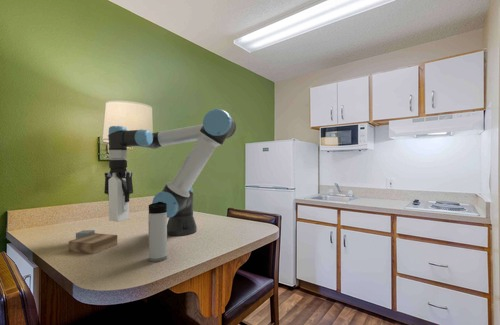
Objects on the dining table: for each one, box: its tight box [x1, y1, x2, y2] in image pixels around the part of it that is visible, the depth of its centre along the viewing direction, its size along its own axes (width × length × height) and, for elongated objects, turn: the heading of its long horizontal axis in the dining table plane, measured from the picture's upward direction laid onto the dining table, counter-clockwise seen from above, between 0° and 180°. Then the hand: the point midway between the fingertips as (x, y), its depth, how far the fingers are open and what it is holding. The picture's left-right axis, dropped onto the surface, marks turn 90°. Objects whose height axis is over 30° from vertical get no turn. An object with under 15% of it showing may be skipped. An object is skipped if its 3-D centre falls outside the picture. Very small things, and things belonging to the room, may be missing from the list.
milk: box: [108, 173, 130, 223], centre depth 118 cm, size 6×6×22 cm
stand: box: [68, 232, 118, 255], centre depth 104 cm, size 12×12×4 cm
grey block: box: [75, 229, 96, 239], centre depth 110 cm, size 5×5×5 cm
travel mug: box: [147, 202, 168, 263], centre depth 91 cm, size 6×7×20 cm
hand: (119, 209), depth 118 cm, fingers closed on milk, 7 cm apart
